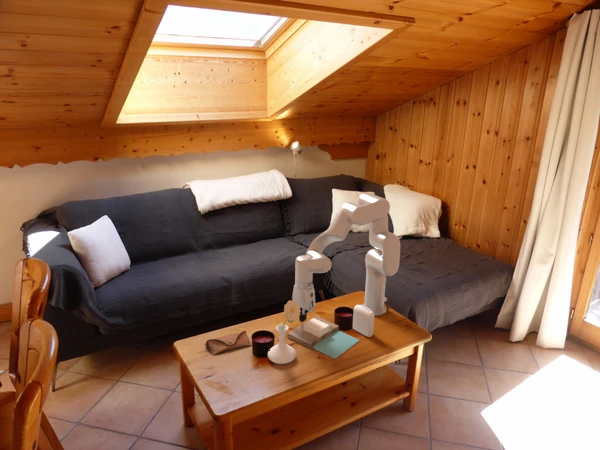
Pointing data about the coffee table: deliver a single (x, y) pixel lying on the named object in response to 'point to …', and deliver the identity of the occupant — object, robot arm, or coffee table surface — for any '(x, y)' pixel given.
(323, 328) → the white flat block
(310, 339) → the riser
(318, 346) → the mat
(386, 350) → the coffee table surface
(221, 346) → the sunglasses case
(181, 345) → the coffee table surface
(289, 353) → the flower in vase
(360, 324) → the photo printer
